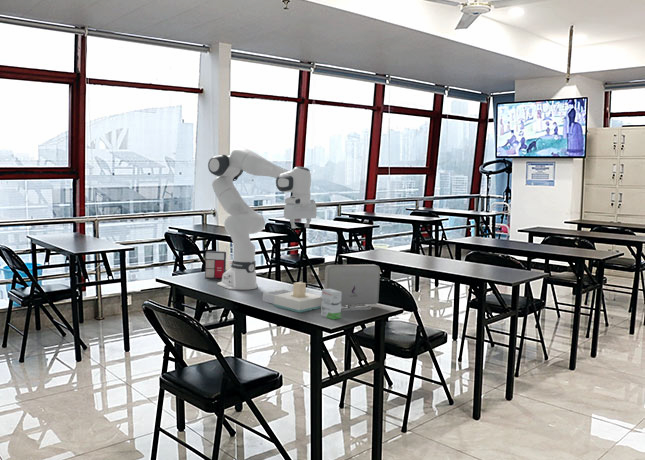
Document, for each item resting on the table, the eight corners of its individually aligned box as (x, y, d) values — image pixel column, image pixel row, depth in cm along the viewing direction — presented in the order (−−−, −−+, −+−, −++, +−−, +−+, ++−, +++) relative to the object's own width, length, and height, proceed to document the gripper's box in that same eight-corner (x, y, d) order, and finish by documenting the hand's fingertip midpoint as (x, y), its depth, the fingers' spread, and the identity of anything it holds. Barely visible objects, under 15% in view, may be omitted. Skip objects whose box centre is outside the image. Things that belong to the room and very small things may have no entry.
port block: (274, 306, 272) (274, 295, 272) (298, 301, 284) (298, 291, 284) (299, 312, 262) (299, 301, 261) (323, 307, 274) (323, 296, 273)
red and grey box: (204, 278, 334) (205, 251, 332) (206, 276, 338) (206, 250, 336) (224, 279, 333) (224, 252, 332) (225, 277, 338) (226, 251, 336)
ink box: (341, 318, 254) (342, 291, 253) (332, 319, 252) (333, 292, 250) (329, 314, 261) (330, 287, 260) (320, 315, 258) (321, 288, 257)
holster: (262, 301, 282) (262, 292, 282) (283, 297, 292) (283, 289, 292) (274, 304, 277) (274, 295, 276) (295, 299, 287) (295, 291, 287)
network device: (327, 311, 267) (329, 267, 265) (321, 306, 275) (323, 264, 273) (380, 309, 275) (382, 266, 273) (372, 304, 283) (374, 263, 281)
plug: (292, 304, 273) (293, 282, 272) (298, 303, 276) (299, 281, 275) (299, 305, 270) (299, 284, 269) (305, 304, 273) (305, 283, 272)
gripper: (310, 199, 302) (309, 226, 303) (282, 199, 287) (281, 228, 288) (320, 200, 298) (319, 227, 299) (291, 200, 283) (290, 229, 284)
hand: (300, 227), depth 294 cm, fingers open, 8 cm apart
